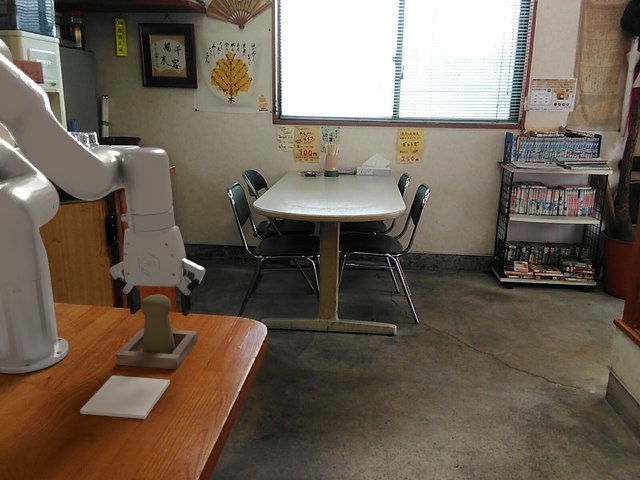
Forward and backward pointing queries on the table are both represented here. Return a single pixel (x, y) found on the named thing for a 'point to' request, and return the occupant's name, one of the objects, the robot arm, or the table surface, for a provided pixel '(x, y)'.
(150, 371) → the table surface
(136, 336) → the holder
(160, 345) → the cork
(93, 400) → the coaster
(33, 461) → the table surface
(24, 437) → the table surface
